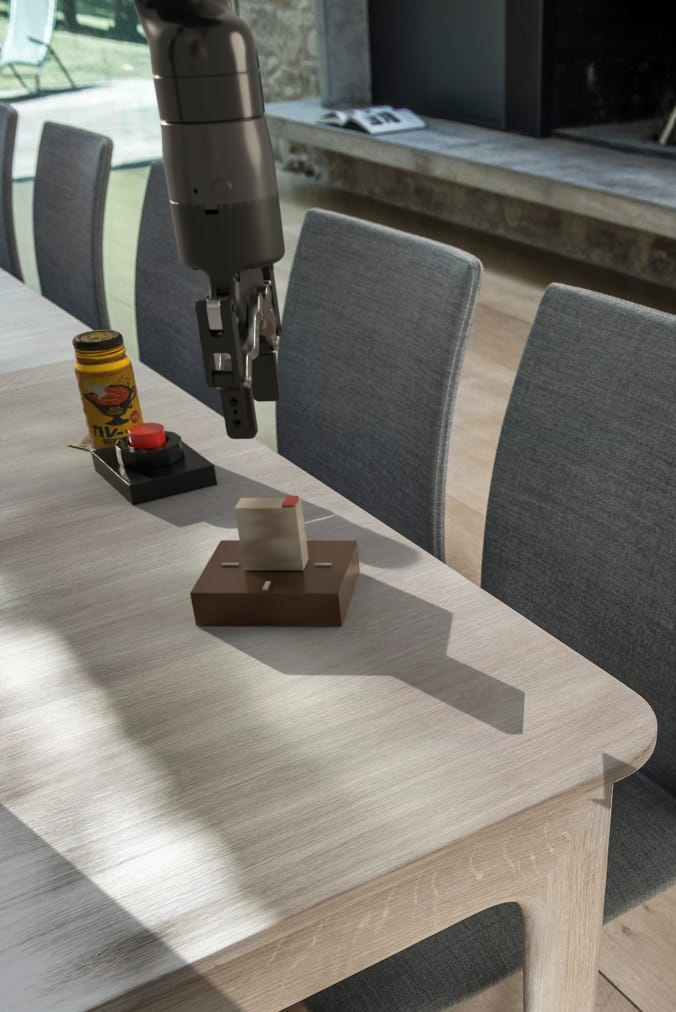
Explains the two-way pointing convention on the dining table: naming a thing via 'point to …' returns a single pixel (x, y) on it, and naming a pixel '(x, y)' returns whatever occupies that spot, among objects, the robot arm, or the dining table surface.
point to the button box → (153, 469)
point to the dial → (272, 533)
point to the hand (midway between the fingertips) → (255, 418)
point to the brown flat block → (277, 588)
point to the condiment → (105, 388)
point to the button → (147, 435)
